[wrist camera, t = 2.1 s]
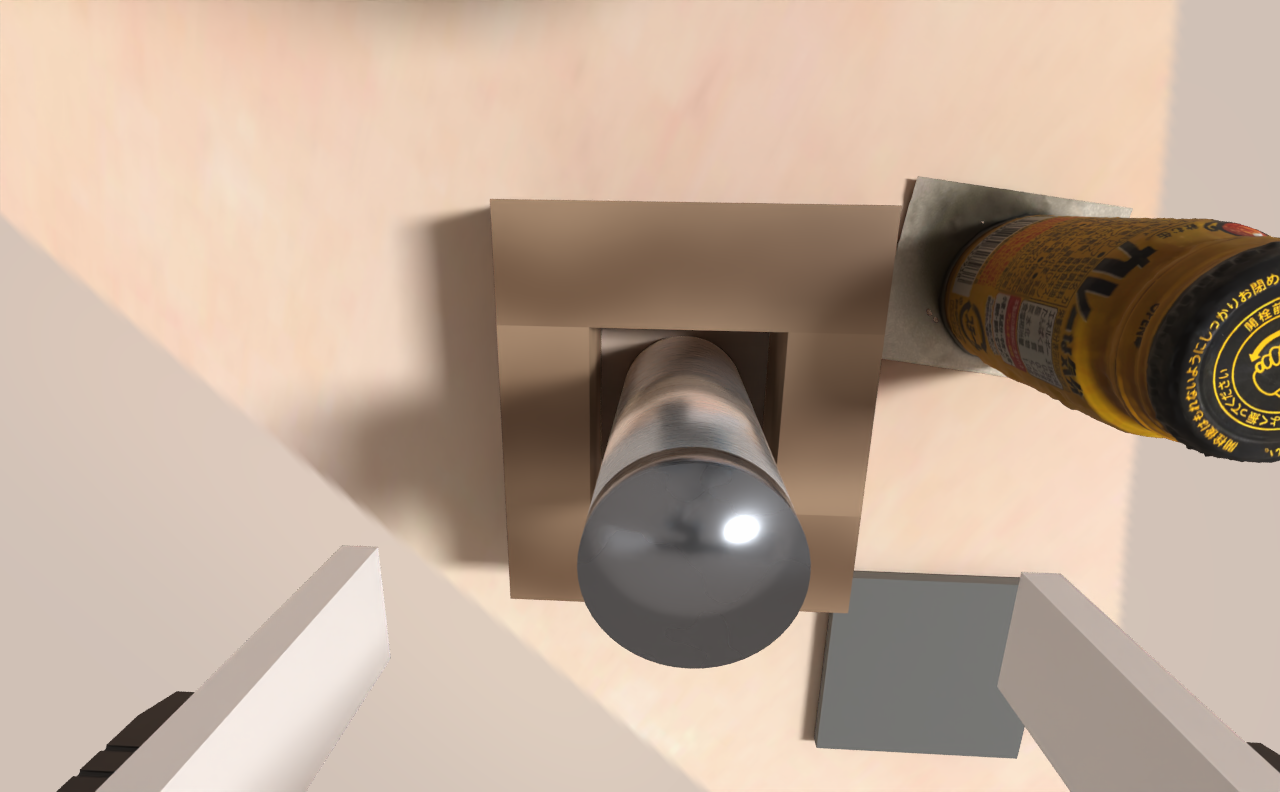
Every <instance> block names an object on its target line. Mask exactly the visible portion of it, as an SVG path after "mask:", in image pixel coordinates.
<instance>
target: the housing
mask: <svg viewBox="0 0 1280 792" xmlns="http://www.w3.org/2000/svg"><path fill="white" fill-rule="evenodd" d="M901 209H902V206H896V205H832V204H769V203H706V202H643V201H579V200H516V199H490V210H491V230H492V249H493V268H494V287H495V307H496V326H497V345H498V364H499V384H500V403H501V422H502V442H503V461H504V480H505V499H506V519H507V538H508V557H509V576H510V596H511V599H534V600H557V601H579V602H585V601H584V599H583V596H582V594H581V590H580V586H579V582H578V573H577V558H578V550H579V545H580V541H581V537H582V533H583V530H584V526H585V523H586V519H587V515H588V512H589V508H590V505H591V501H592V497H593V494H594V490H595V487H596V483H597V480H598V476H599V472H600V469H601V328H630V329H671V330H711V331H751V332H770V339H769V352H768V365H767V378H766V391H765V404H764V416H763V429H762V431H763V434H764V436H765V438H766V441H767V443H768V446H769V448H770V451H771V453H772V456H773V458H774V460H775V463H776V465H777V468H778V470H779V473H780V475H781V478H782V480H783V482H784V485H785V487H786V490H787V492H788V495H789V497H790V500H791V502H792V504H793V507H794V509H795V512H796V514H797V517H798V519H799V522H800V524H801V526H802V529H803V531H804V534H805V536H806V540H807V543H808V547H809V552H810V560H811V573H810V581H809V587H808V591H807V594H806V597H805V600H804V603H803V605H802V607H801V609H800V611H806V612H829V613H848V610H849V602H850V595H851V587H852V580H853V572H854V564H855V557H856V549H857V542H858V534H859V527H860V519H861V511H862V504H863V496H864V489H865V481H866V474H867V466H868V458H869V451H870V443H871V436H872V428H873V421H874V413H875V405H876V398H877V390H878V383H879V375H880V368H881V360H882V352H883V345H884V337H885V330H886V322H887V315H888V307H889V299H890V292H891V284H892V277H893V269H894V262H895V254H896V246H897V239H898V231H899V224H900V216H901Z"/></svg>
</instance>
